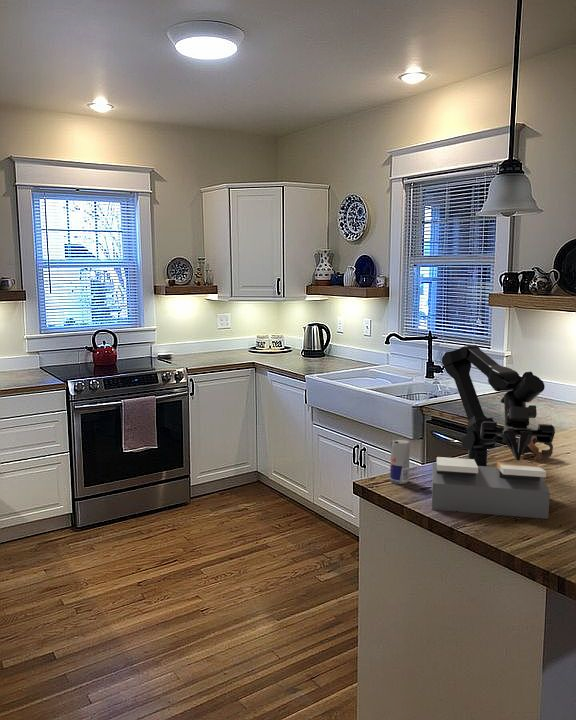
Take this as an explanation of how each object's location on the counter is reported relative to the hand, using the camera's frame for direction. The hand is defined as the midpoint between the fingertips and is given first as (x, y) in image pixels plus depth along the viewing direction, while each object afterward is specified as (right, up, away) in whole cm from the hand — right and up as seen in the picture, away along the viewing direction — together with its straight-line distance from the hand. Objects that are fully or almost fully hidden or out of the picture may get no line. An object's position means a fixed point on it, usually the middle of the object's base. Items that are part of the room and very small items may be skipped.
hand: (518, 459), depth 170 cm
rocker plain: (-16, -1, 0) cm, 17 cm away
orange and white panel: (-1, -2, -4) cm, 4 cm away
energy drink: (-29, -9, +16) cm, 34 cm away
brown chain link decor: (+19, -6, +39) cm, 44 cm away
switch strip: (-9, -11, -1) cm, 14 cm away
